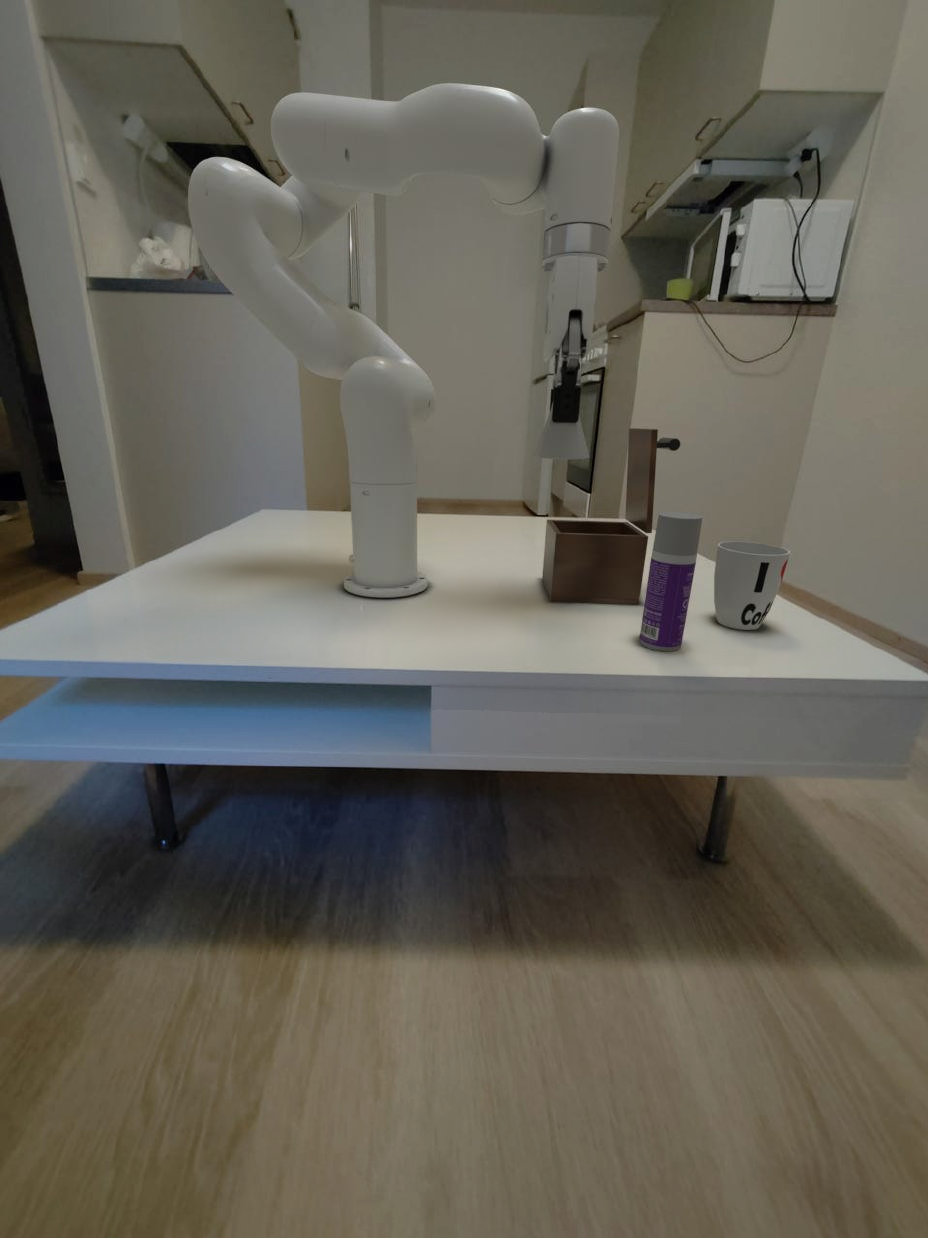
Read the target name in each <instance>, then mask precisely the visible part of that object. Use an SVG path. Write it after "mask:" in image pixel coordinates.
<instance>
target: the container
mask: <svg viewBox="0 0 928 1238" xmlns="http://www.w3.org/2000/svg"><path fill="white" fill-rule="evenodd" d="M702 522H703V516H702V515H700V514H695V513H688V512H681V511H680V512H679V511H663V512H659V513H658V517H657V522H656V528H655V534H654V540H653V545H652V551H651V557H650V563H649V569H648V570H649V571H648V576H647V584H646V592H645V597H644V604H643V610H642V611H643V612H642V619H641V624H640V625H641V626H640V631H639V641H638V642H639V643H640V645H642V646H643V647H645V648H647V649H650V650H653V651H659V652H676V651H679V650H681V648H682V644H683V639H684V632H685V628H686V622H687V621H686V620H687V615H688V609H689V604H690V598H691V593H692V588H693V587H692V586H693V582H694V576H695V569H696V565H697V557H698V550H699V543H700V536H701V531H702V524H703V523H702Z"/></svg>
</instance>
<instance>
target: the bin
mask: <svg viewBox="0 0 928 1238" xmlns="http://www.w3.org/2000/svg"><path fill="white" fill-rule="evenodd" d="M545 526H546V527H545V539H544V551H543V564H542V576H541V577H542V578H541V579H542V582H543V586H544V588H545V590H546V593H547V597H548V598H549V601H550V602H555V603H557V602H558V603H587V604H611V605H613V604H615V605H639V604H640V598H641V592H642V586H643V579H644V578H643V577H644V571H645V563H646V558H647V557H646V556H647V549H648V541H649V536H648V535H647V534H646V533H645V532H643V531H642V530H640V529H639V528H638V527H636V526H635V525H633V524H632V523H630V522H629V521H607V520H606V521H605V520H604V521H603V520H576V519H574V520H573V519H572V520H571V519H546V525H545Z"/></svg>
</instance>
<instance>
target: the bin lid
mask: <svg viewBox="0 0 928 1238" xmlns="http://www.w3.org/2000/svg"><path fill="white" fill-rule="evenodd" d="M658 435H659V429H657V428H637V427H636V428H632V427H631V428H628V446H627V469H626V472H627V473H626V493H625V494H626V495H625V517H624V519H625V521H626V522H628V523H629V524H631V525H632V526H634V527H635V528H637V529H638V530H640V531H641V532H643V533H644V534H652V533H653V521H654V502H655V488H656V487H655V484H656V469H657V451H658V449H660V450H663V451H664V450H665V451H671V452H675V451H678V450H679V449H680V447H681V440H680V439H678V438H675V437H661V438H659V439H658Z"/></svg>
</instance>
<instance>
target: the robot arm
mask: <svg viewBox="0 0 928 1238" xmlns="http://www.w3.org/2000/svg"><path fill="white" fill-rule="evenodd" d="M270 118H271V119H270V136H271V142H272V145H273V149H274V151H275V153H276V155H277V158H278V159H279V161H280V163H281V164H282V166H283V168H285V169H286V171H287V172H288V173H289V174H290V175H291V176H290V177H289V178H288V179H287V180H286V181H285V182H284V183H283V184H281V186H279V185H277V183H275V182H273V181H272V180H271V179H269V178H268V177H266V176H265V175H264V174H261V172H259V171H257V170H256V169H254V168H252V167H251V166H249V165H247V164H246V163H243V162H242V161H239V160H236V159H233V158H229V157H223V156H212V157H209V158H206V159H203V160H202V161H200V162H199V163H198V164H197V165H196V167H195V168H193V171H192V173H191V175H190V178H189V182H188V190H187V203H188V204H187V206H188V207H187V208H188V216H189V220H190V225H191V228H192V232H193V236H194V238H195V241H196V244H197V246H198V248H199V250H200V253H201V254H202V256H203V258H204V260H205V261H206V263H207V264H208V266H209V267H210V269H211V270H212V272H213V273H214V274H215V276H216V277H217V278H218V280H219V281H220V282H221V283H222V284H223V285H224V287H226V288H227V290H228V291H229V292H230V293H232V295H233V296H234V297H235V298H236V299H237V300H238V301H239V302H240V303H241V304H242V305H243V306H244V307H245V308H246V309H247V310H248V311H249V312H250V313H252V315H253V316H254V317H255V318H256V319H257V320H259V322H260V323H261V324H262V325H263V326H264V327H265V328H266V329H267V330H268V331H269V332H270V333H271V334H272V335H273V336H274V337H275V338H276V339H277V340H278V341H279V342H280V343H281V344H282V345H283V346H284V347H285V348H286V349H287V350H288V351H289V353H291V354H292V355H293V356H294V357H295V358H296V359H297V361H299V362H300V363H301V364H302V366H304V367H305V368H306V369H307V370H308V371H310V372H311V373H312V374H314V375H317V376H320V377H322V378H326V379H331V380H338V381H341V383H340V387H339V408H340V413H341V420H342V425H343V430H344V434H345V440H346V441H345V442H346V448H347V449H346V450H347V459H348V460H347V461H348V478H349V479H348V480H349V493H350V494H349V495H350V496H349V497H350V517H351V538H352V539H351V541H352V542H351V543H352V554H350V555H349V556H348V561H349V563H351V564H353V572H352V573H350V574H348V575H347V576H345V577H344V578H343V588H344V590H346V591H347V592H349V593H351V594H353V595H356V596H361V597H367V598H377V599H378V598H379V599H380V598H382V599H383V598H385V599H386V598H400V597H407V596H412V595H416V594H419V593H421V592H423V591H425V590H426V589H427V587H428V583H429V582H428V578H427V576H426V575H424V574H423V573H421V572H418V466H417V452H416V446H415V445H416V444H415V438H414V431H418V430H420V429H421V428H423V427H425V426H426V425H427V424H428V423H429V422H430V420H431V419H432V417H433V415H434V413H435V410H436V406H437V405H436V404H437V397H436V391H435V387H434V385H433V383H432V380H431V379H430V377H429V375H427V373H426V372H425V371H424V370H423V369H422V368H421V366H419V365H418V364H417V363H416V361H414V360H413V359H412V358H411V357H410V356H409V355H408V354H407V353H406V352H405V351H404V350H403V349H402V348H401V347H400V346H399V345H398V344H397V343H396V342H395V341H394V340H393V339H392V338H391V337H390V336H389V335H388V334H387V333H386V332H385V331H384V330H383V329H382V328H381V327H380V326H379V325H377V324H376V323H375V322H374V321H372V320H371V319H370V318H369V317H367V315H364V314H362V313H360V312H359V311H356V310H354V309H352V308H350V307H348V306H345V305H343V304H341V303H338V302H336V301H335V300H333V299H331V298H330V297H329V296H327V295H326V294H325V293H324V292H323V291H322V290H321V289H319V287H317V286H316V285H315V284H314V283H313V282H312V281H310V279H309V278H307V276H306V275H305V274H304V273H303V272H302V271H301V269H299V267H297V265H295V264H294V263H293V262H292V261H295V260H296V259H299V258H301V257H302V256H303V255H306V253H307V252H309V251H310V250H311V249H312V248H313V247H314V246H315V245H316V244H317V243H318V242H319V241H320V240H321V239H323V238H324V236H326V235H327V234H328V233H329V232H330V231H331V230H332V229H333V228H334V227H336V226H337V224H339V222H341V221H342V220H343V219H344V218H345V217H346V216H347V215H348V214H349V213H350V212H351V211H352V209H353V208H354V207H355V206H356V205H357V204H358V203H359V201H360V200H361V199H362V197H363V196H364V194H365V193H371V194H377V195H382V196H389V197H399V196H402V195H404V194H405V193H406V192H407V190H408V189H409V188H410V186H411V184H412V181H413V178H415V177H418V176H420V175H426V174H445V175H451V176H452V175H453V176H460V177H467V178H473V179H478V180H480V182H481V184H482V185H483V188H484V189H485V191H486V193H487V194H488V196H489V197H490V200H491V201H492V203H493V204H494V206H495V207H496V208H497V209H498V210H499V211H501V212H502V213H504V214H506V215H509V216H523V215H528V214H532V213H536V212H539V211H542V210H544V224H543V225H544V226H543V241H542V256H541V257H542V259H541V270H543V271H544V272H546V273H548V274H549V279H548V280H549V282H548V289H547V301H546V311H545V312H546V313H545V328H544V343H543V353H542V360H543V362H544V363H549V362H550V361H551V360H552V358H554V362H553V373H552V374H553V376H552V388H551V389H550V400H549V411H550V410H551V408H552V403H553V409H552V421H553V422H561V423H576V422H578V420H579V416H580V408H581V407H580V406H581V395H582V387H581V381H582V367H583V359H585V358H586V357H587V356H588V355H589V354H590V351H591V345H592V340H593V331H594V321H595V312H596V311H595V310H596V299H597V298H596V297H597V287H598V286H597V285H598V284H597V283H598V273H601V272H602V271H605V270H606V269H607V268H608V265H609V256H610V246H611V245H610V243H611V230H612V223H613V210H614V200H615V191H616V179H617V178H616V177H617V169H618V167H617V166H618V157H619V156H618V154H619V144H620V127H619V123H618V121H617V119H616V117H615V115H613V114H612V113H610V112H609V111H608V110H605V109H602V108H598V107H581V108H576V109H573V110H572V109H571V110H570V111H568V112H565V113H563V114H562V115H561V116H560V117H559V118H557V120H556V121H555V122H554V124H553V126H552V127H551V130H550V133H549V135H545V134H543V133H542V132H541V127H540V124H539V122H538V121H539V120H538V119H537V115H536V113H535V112H534V109H533V108H532V106H531V105H530V103H528V102H527V101H526V100H525V99H524V98H523V97H521V96H520V95H518V94H516V93H514V92H513V91H510V90H507V89H503V88H499V87H492V86H488V85H487V86H486V85H476V84H467V83H456V82H455V83H452V82H447V83H446V82H445V83H437V84H432V85H429V86H426V87H425V88H422V89H420V90H417V91H415V92H413V93H411V94H408V95H406V96H405V97H403V98H402V99H400V100H397V101H396V100H395V101H392V100H380V99H373V98H372V99H371V98H364V97H363V98H361V97H353V96H344V95H335V94H327V93H326V94H325V93H316V92H293V93H290V94H287V95H286V96H284V97H282V98H281V99H280V100H279V101H278V102H277V104H276V105H275V107H274V109H273V111H272V115H271V117H270ZM555 374H557V387H555V386H556V380H554V375H555Z"/></svg>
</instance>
